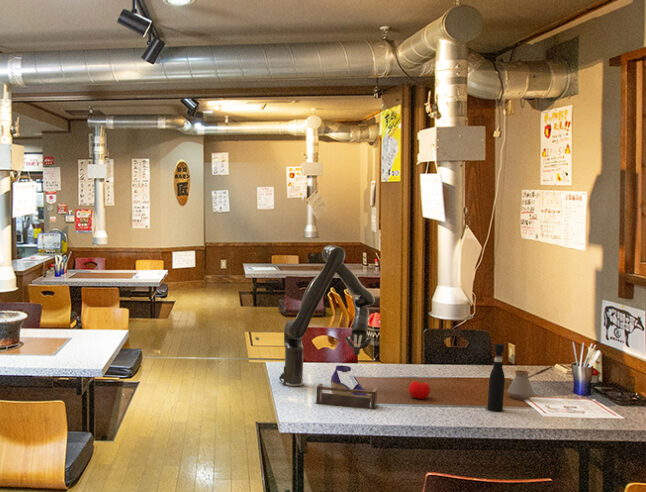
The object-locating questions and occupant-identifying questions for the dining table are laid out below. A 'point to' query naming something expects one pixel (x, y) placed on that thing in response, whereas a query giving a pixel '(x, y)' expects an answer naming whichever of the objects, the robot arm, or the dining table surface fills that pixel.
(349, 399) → the shoe rack
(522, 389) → the coffee pot
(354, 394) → the sandal
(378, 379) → the dining table surface
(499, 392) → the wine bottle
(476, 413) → the dining table surface
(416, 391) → the tomato
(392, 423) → the dining table surface
